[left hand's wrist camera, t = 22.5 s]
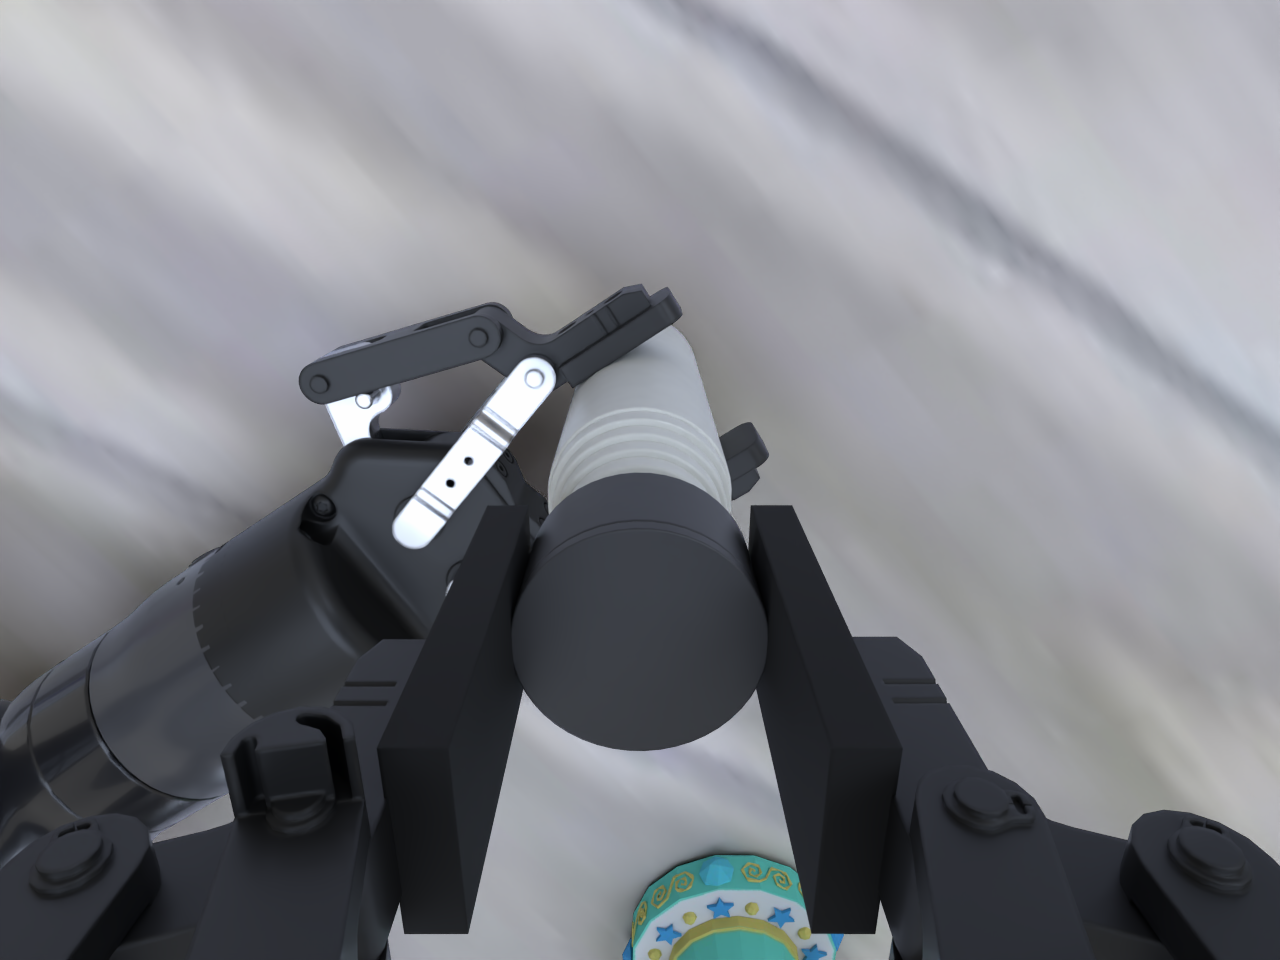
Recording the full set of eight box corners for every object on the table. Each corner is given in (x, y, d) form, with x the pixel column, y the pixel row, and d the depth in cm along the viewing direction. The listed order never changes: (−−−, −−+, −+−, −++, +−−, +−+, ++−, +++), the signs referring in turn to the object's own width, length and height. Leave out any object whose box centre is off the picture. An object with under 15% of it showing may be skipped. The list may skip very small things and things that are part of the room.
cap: (717, 443, 14) (732, 496, 12) (773, 636, 15) (796, 717, 13) (497, 507, 14) (470, 570, 12) (571, 689, 16) (559, 776, 13)
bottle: (622, 292, 29) (598, 455, 12) (719, 355, 29) (820, 589, 13) (561, 388, 30) (464, 655, 13) (655, 447, 31) (674, 765, 14)
